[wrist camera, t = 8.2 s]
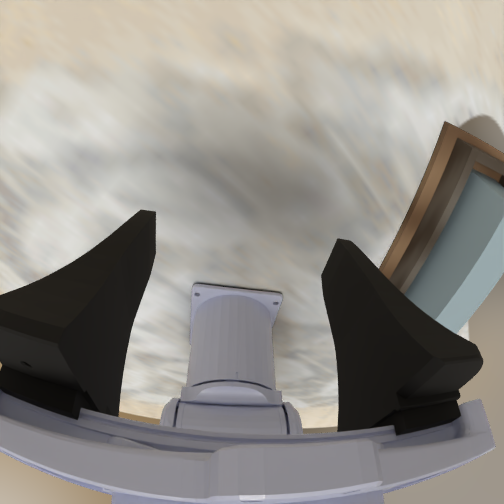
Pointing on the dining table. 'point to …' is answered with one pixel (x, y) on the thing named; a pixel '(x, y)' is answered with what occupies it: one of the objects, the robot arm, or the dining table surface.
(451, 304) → the pale blue bar
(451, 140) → the cradle
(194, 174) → the dining table surface
